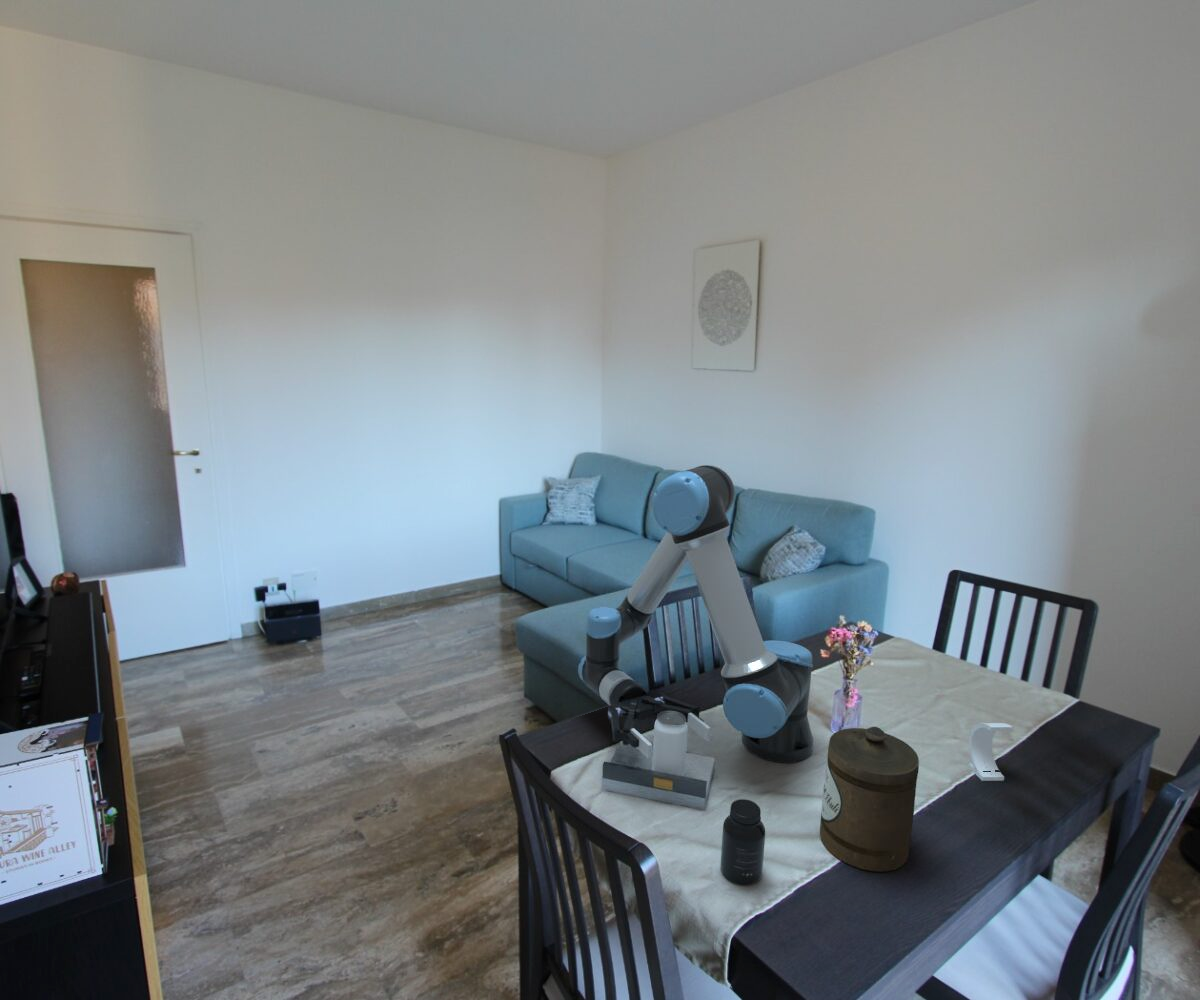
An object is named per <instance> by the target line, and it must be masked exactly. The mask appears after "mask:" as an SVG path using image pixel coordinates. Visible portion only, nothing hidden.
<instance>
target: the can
mask: <svg viewBox="0 0 1200 1000" xmlns="http://www.w3.org/2000/svg"><path fill="white" fill-rule="evenodd" d="M687 724H688V723H686V717H685V716H684V715H683V714H681V713H679V712H675V711H664V712H661V713H659V714H658V715H657V718H656V720H655V722H654V724H653V725H654V728H653V729H654V730H653V744H652V747H653V760H652V771H657V772H662V773H668V774H673V775H678V776H683V777H684V775H685V763H686V753H687V746H688V729H689V726H687Z"/></svg>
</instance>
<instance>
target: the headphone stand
mask: <svg viewBox="0 0 1200 1000" xmlns="http://www.w3.org/2000/svg"><path fill="white" fill-rule="evenodd" d="M1012 731H1013V726H1012V725H1010V724H1008V723H1005V722H986V723H985V722H981V723H980V722H979V723H977V724H975V725H974V726H973V727H972V729H971V732H970V734H969V737H968V738H969V739H968V752H969V757H970V761H971V762H969V763H968V766H967V767H968V768H969V769H970V770H971V771H972V772H973V773H974V775H976V776H977V777H978V778H979V779H980V780H981V782H984V781H985V782H987V781H988V782H989V781H990V782H994V781H997V782H998V781H1001V782H1002V781H1004V780H1005V776H1004V775H1003V774H1002V772H1001V771H1000V769H999V767H998V766H997V763H996V760H995V757H994V752H993V741H994V740H993V739H994V737H995V734H996V732H1012ZM975 768H976V769H977V770H976V769H975ZM995 770H999V771H1000V772H995ZM983 771H991V772H983Z"/></svg>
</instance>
